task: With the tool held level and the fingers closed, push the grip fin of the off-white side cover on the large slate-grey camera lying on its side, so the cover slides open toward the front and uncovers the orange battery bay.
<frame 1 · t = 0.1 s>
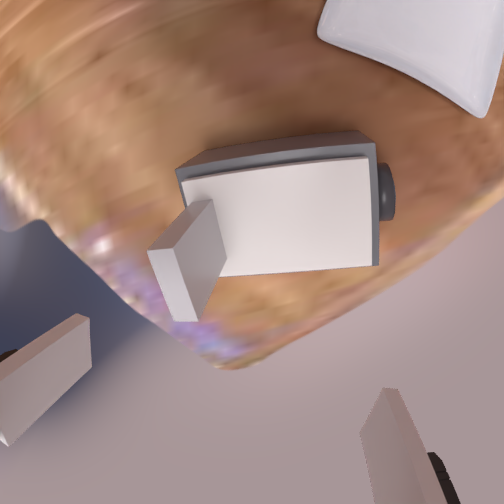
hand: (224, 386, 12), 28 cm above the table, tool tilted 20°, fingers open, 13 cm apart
salad plate: (422, 7, 22), on the table
side cover: (275, 245, 23), point 15 cm above the table, slide at 0.0 cm
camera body: (287, 187, 36), on the table
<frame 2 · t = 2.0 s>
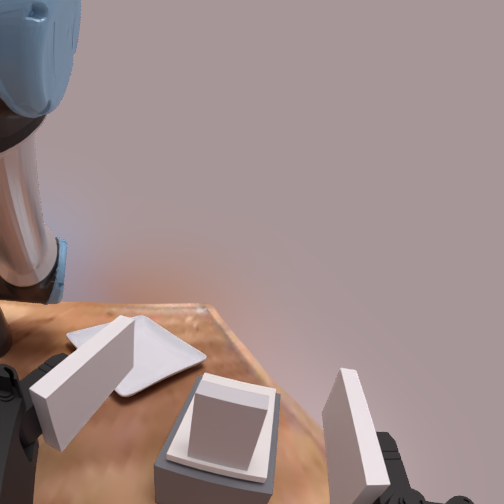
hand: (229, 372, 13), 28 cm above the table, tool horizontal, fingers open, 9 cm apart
salad plate: (134, 361, 55), on the table
side cover: (235, 393, 31), point 14 cm above the table, slide at 0.0 cm
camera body: (218, 467, 34), on the table
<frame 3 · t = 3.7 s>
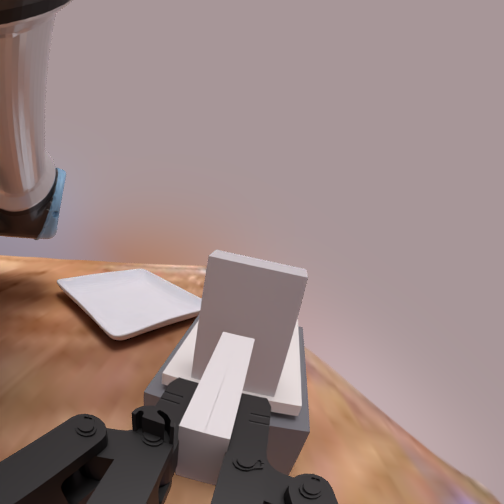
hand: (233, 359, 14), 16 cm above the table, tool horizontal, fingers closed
salad plate: (130, 311, 51), on the table
side cover: (254, 300, 26), point 15 cm above the table, slide at 0.0 cm
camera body: (228, 420, 30), on the table
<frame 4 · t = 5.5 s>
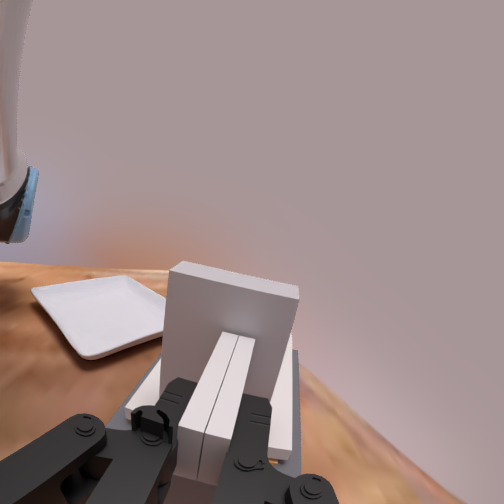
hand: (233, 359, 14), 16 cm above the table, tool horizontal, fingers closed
salad plate: (108, 323, 44), on the table
side cover: (238, 319, 22), point 14 cm above the table, slide at 1.6 cm, touching gripper
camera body: (209, 458, 23), on the table
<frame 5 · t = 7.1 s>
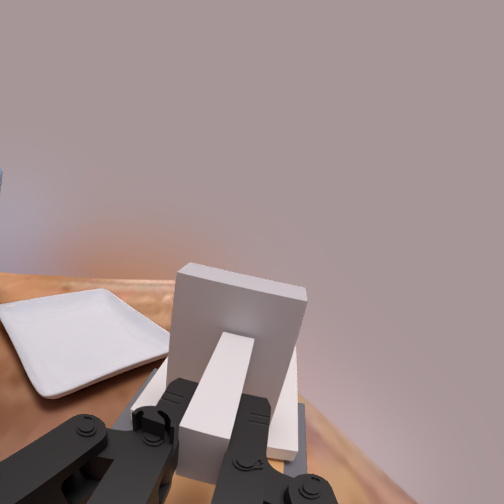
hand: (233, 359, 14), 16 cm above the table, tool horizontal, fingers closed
salad plate: (81, 347, 36), on the table
side cover: (243, 320, 22), point 15 cm above the table, slide at 10.3 cm, touching gripper
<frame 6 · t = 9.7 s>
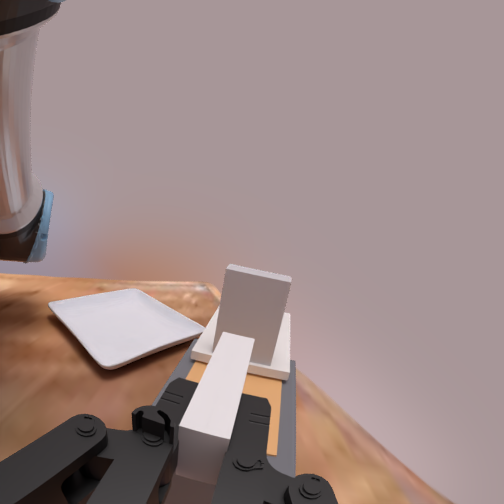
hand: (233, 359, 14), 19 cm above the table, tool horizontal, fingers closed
salad plate: (122, 334, 49), on the table
side cover: (256, 299, 36), point 14 cm above the table, slide at 11.8 cm
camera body: (218, 454, 27), on the table
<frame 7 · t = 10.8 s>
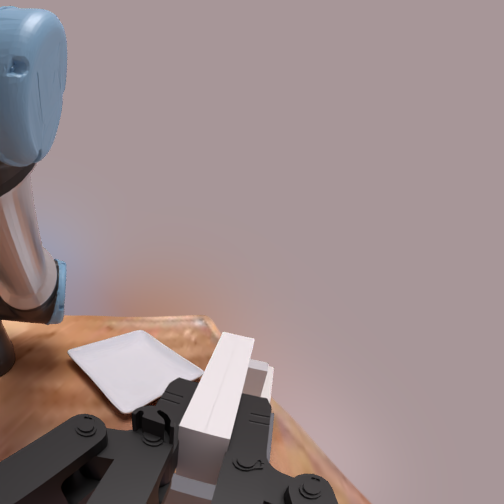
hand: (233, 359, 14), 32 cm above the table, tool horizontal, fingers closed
salad plate: (133, 376, 56), on the table
side cover: (243, 366, 43), point 15 cm above the table, slide at 11.8 cm
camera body: (215, 481, 35), on the table
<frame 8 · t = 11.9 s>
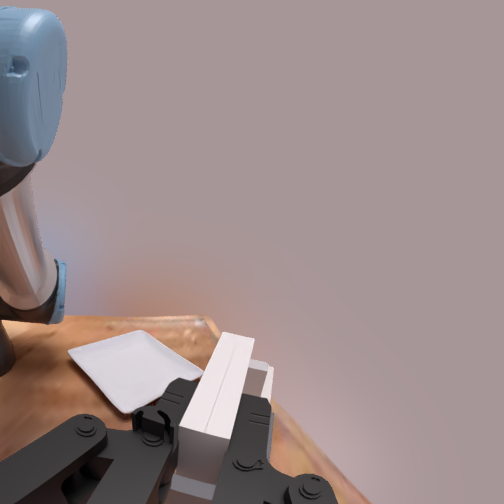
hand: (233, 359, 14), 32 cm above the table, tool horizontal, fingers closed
salad plate: (133, 376, 56), on the table
side cover: (243, 366, 43), point 15 cm above the table, slide at 11.8 cm
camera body: (215, 481, 35), on the table
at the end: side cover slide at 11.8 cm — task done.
